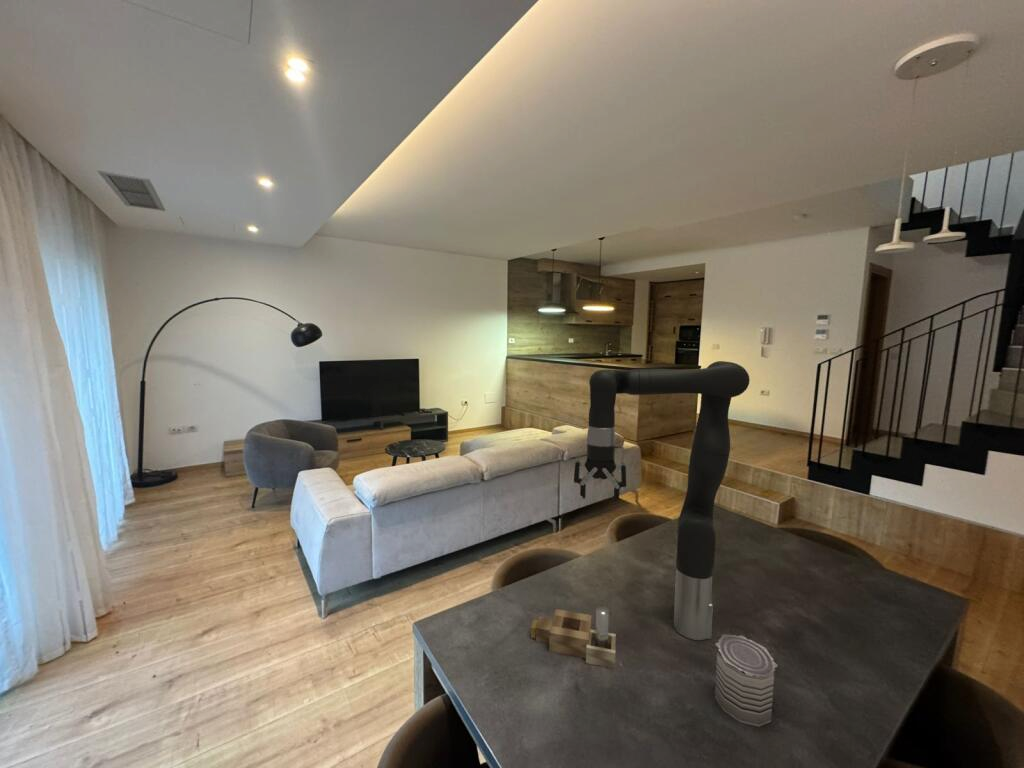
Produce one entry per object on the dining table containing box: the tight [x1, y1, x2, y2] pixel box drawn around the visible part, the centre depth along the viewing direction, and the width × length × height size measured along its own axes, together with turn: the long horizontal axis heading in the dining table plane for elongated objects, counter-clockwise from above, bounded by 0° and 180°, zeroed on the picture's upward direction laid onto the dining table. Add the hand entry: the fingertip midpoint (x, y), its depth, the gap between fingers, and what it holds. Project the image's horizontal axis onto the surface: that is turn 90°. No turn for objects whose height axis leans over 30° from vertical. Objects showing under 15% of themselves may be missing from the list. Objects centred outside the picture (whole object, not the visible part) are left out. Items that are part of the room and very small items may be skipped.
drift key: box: [530, 619, 539, 639], centre depth 110 cm, size 8×4×3 cm, turn 75°
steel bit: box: [595, 606, 610, 649], centre depth 103 cm, size 3×3×12 cm
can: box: [714, 633, 779, 728], centre depth 89 cm, size 11×11×12 cm
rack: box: [585, 628, 617, 669], centre depth 103 cm, size 7×7×4 cm
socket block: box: [535, 608, 593, 659], centre depth 109 cm, size 14×10×5 cm
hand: (599, 499), depth 114 cm, fingers open, 8 cm apart
